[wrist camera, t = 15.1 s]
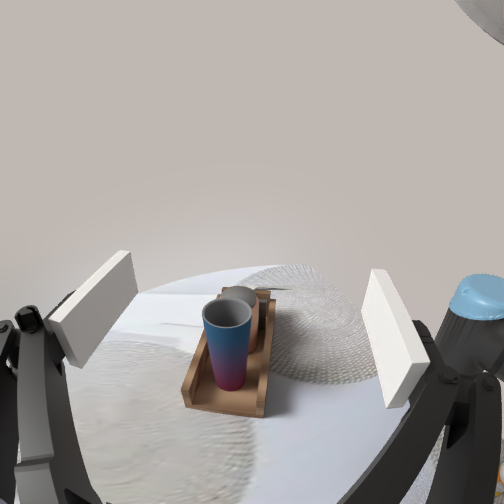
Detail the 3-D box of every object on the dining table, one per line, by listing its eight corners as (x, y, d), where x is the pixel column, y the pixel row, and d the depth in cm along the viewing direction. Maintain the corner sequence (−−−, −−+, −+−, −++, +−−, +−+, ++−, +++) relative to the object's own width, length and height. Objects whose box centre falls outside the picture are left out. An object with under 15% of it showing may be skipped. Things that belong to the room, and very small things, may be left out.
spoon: (228, 289, 73) (227, 284, 72) (305, 283, 76) (305, 277, 75) (229, 298, 69) (229, 293, 68) (310, 291, 72) (311, 285, 72)
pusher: (265, 330, 56) (266, 295, 52) (220, 326, 57) (217, 291, 53) (265, 327, 57) (267, 292, 53) (221, 322, 58) (219, 288, 54)
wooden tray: (263, 418, 39) (265, 393, 36) (185, 407, 40) (178, 381, 37) (274, 317, 62) (276, 291, 59) (218, 312, 63) (217, 286, 60)
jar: (242, 326, 58) (242, 280, 53) (264, 345, 53) (267, 297, 48) (214, 340, 54) (210, 292, 49) (234, 361, 49) (233, 313, 44)
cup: (256, 372, 46) (259, 303, 40) (241, 401, 41) (240, 333, 34) (221, 361, 49) (216, 293, 42) (203, 387, 43) (192, 319, 36)
